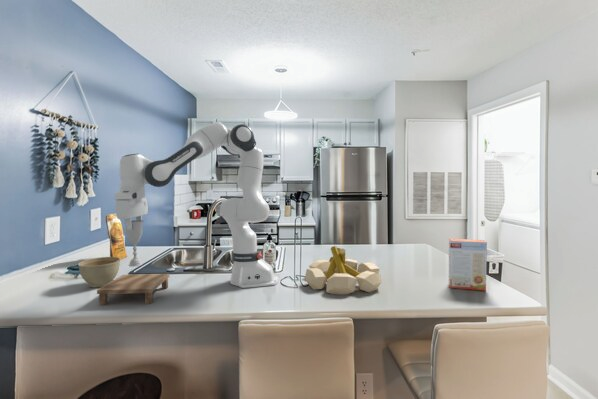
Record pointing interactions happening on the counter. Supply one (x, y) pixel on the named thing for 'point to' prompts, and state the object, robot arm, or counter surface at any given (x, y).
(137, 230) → the chalice
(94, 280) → the planter bowl
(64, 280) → the counter surface
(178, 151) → the robot arm
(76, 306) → the counter surface
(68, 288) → the counter surface
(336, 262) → the campfire
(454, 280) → the cracker box
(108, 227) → the pancake mix bag
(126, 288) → the stool
